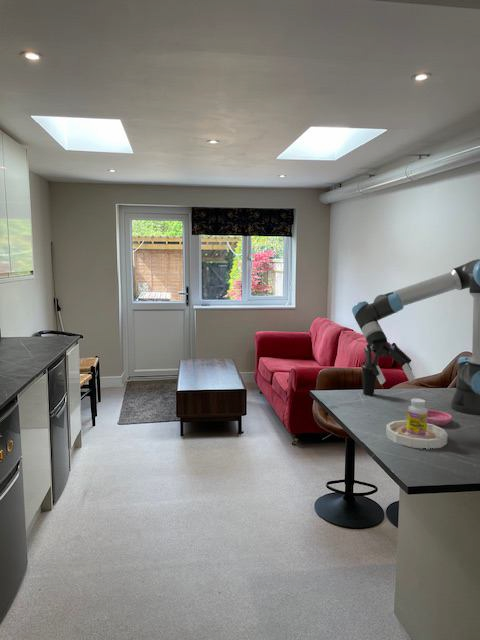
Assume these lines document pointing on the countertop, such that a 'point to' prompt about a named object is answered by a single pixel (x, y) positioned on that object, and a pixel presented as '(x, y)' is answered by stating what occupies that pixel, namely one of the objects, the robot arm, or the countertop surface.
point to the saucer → (438, 418)
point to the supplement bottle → (417, 418)
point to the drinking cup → (368, 381)
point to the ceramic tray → (432, 439)
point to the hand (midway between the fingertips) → (398, 381)
